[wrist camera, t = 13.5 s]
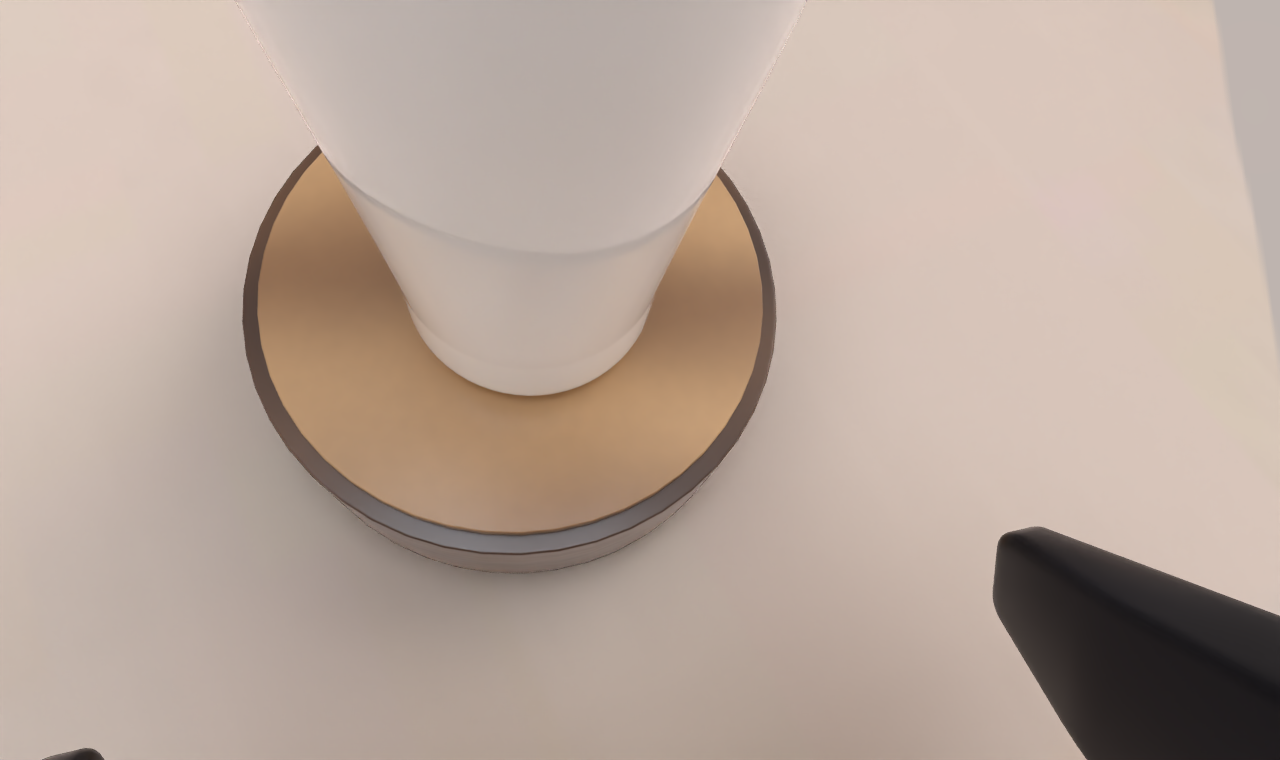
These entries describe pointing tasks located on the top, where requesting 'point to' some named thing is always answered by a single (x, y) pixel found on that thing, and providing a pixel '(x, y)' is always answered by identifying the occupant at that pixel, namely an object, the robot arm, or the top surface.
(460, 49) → the white tumbler
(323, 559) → the top surface
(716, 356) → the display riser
